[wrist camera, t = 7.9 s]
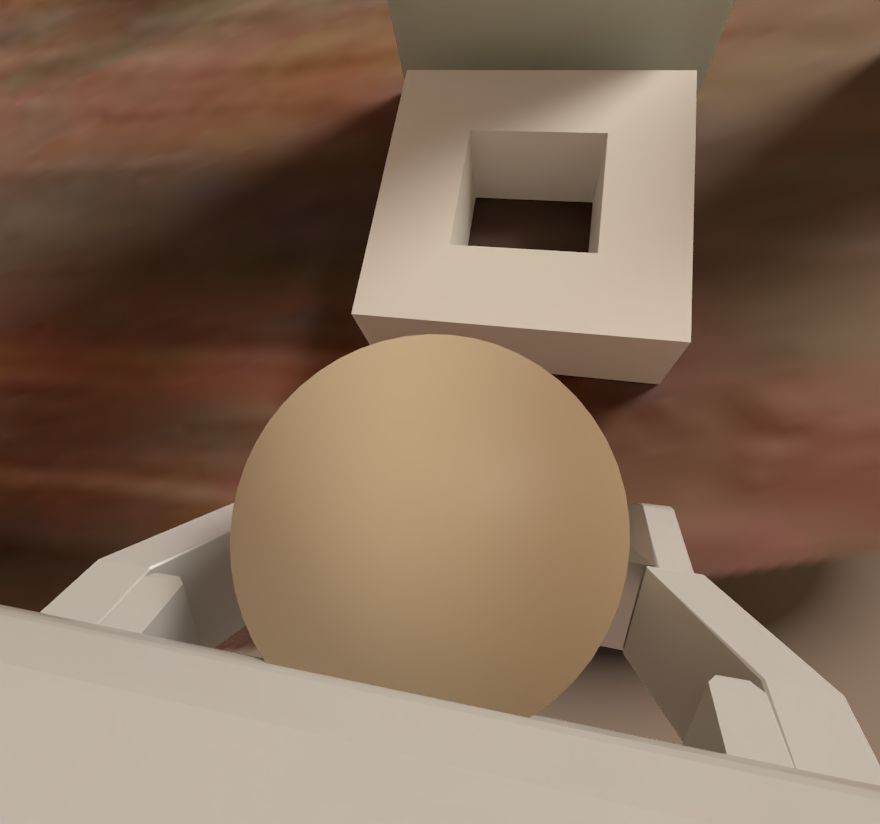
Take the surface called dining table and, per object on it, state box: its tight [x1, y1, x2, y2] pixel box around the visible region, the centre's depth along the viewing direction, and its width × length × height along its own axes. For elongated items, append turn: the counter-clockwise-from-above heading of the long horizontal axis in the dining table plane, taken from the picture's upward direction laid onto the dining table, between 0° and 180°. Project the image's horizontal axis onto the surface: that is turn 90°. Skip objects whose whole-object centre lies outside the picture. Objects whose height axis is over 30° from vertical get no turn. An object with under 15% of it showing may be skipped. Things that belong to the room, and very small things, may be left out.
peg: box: [230, 334, 630, 718], centre depth 10 cm, size 4×4×10 cm
